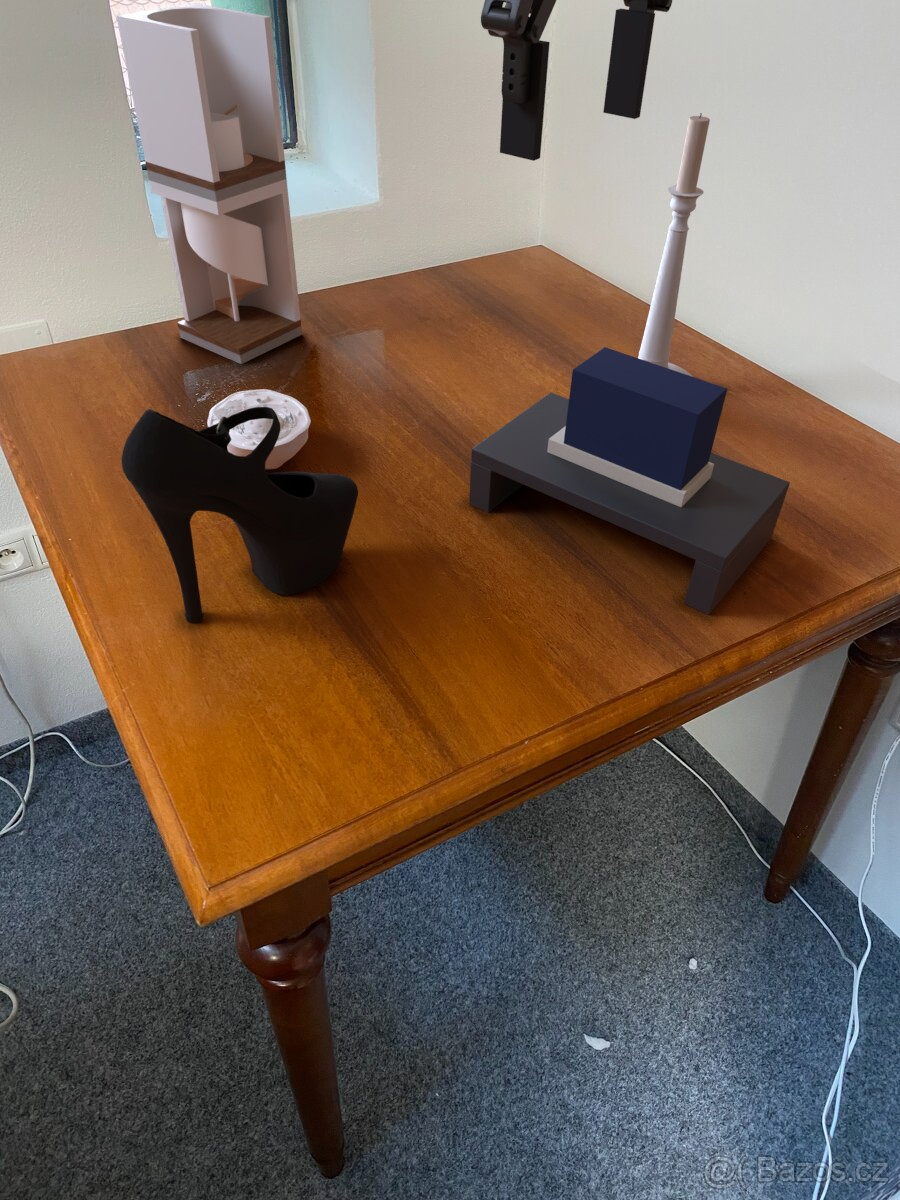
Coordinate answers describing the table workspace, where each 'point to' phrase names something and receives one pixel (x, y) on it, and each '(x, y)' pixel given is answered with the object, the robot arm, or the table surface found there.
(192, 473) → the high-heeled shoe
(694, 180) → the candlestick
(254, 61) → the white architectural model
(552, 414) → the shoe shelf
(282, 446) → the cell model
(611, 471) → the navy block on base
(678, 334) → the table surface
